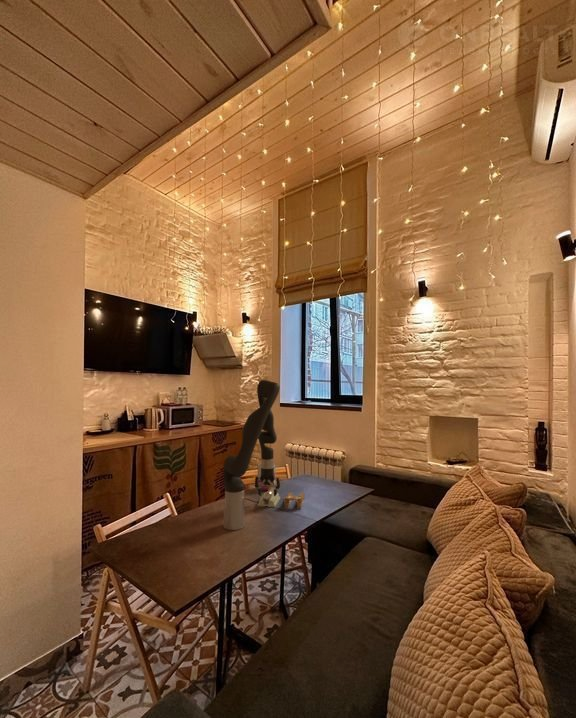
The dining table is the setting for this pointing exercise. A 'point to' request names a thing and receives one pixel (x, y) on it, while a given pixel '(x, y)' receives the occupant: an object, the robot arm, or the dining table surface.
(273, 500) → the axle cradle
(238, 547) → the dining table surface
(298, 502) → the bore block
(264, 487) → the candy bar box
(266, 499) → the steel axle
